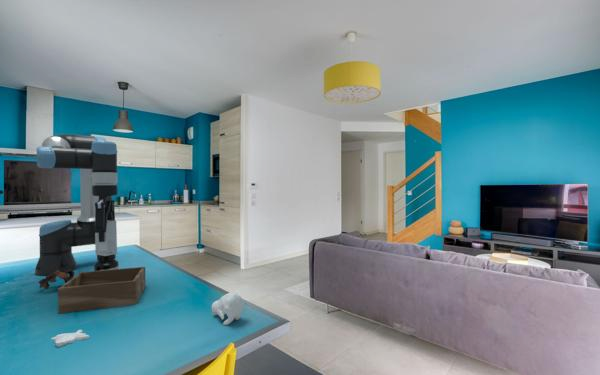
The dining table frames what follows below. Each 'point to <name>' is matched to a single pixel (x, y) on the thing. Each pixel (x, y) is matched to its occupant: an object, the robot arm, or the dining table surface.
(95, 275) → the peg box
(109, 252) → the skincare box
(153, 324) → the dining table surface
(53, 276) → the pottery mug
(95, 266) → the ink bottle
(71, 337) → the acanthus leaf ornament
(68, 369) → the dining table surface
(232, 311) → the white animal figurine
